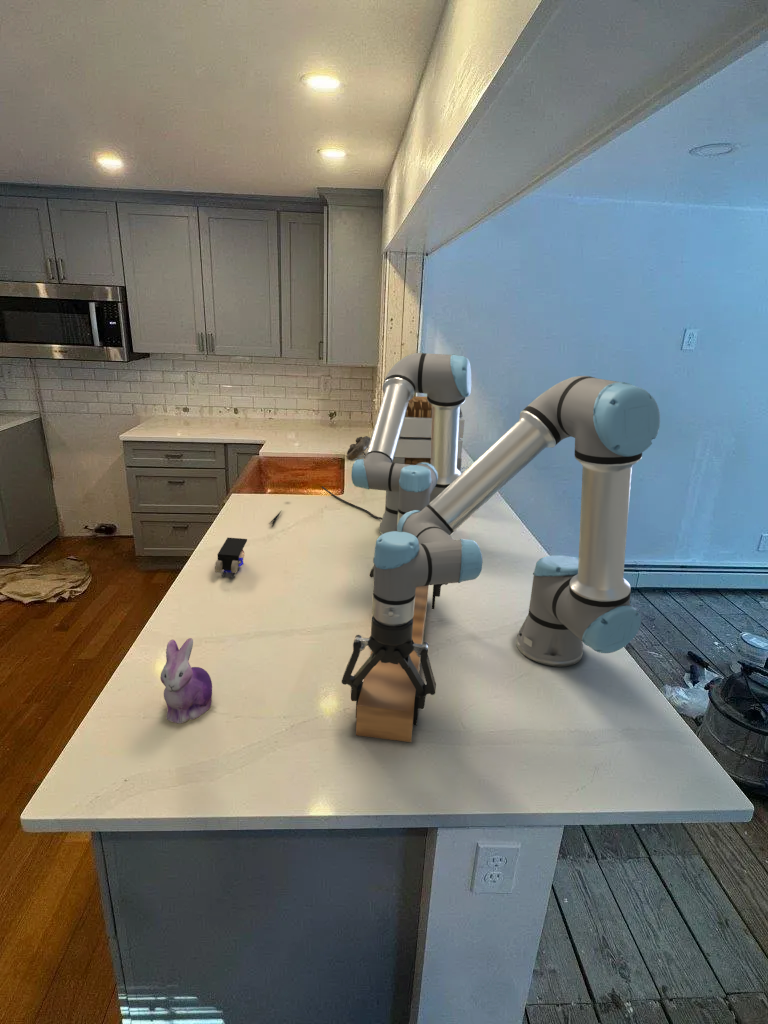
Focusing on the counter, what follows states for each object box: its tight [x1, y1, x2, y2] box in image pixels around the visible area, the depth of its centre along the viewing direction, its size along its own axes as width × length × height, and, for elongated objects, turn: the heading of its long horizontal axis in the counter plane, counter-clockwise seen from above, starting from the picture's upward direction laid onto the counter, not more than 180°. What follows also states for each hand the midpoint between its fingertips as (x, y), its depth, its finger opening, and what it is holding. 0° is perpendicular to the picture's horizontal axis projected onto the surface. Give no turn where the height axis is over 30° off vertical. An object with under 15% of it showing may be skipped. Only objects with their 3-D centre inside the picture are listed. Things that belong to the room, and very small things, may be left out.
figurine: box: [159, 637, 213, 724], centre depth 107 cm, size 9×10×15 cm
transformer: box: [392, 395, 465, 474], centre depth 268 cm, size 34×33×41 cm
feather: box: [268, 510, 282, 527], centre depth 212 cm, size 2×28×2 cm
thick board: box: [355, 585, 430, 743], centre depth 128 cm, size 53×10×7 cm, turn 173°
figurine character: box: [214, 537, 248, 578], centre depth 166 cm, size 7×8×15 cm
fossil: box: [346, 435, 371, 461], centre depth 300 cm, size 22×10×15 cm
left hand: (407, 604), depth 148 cm, fingers open, 13 cm apart
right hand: (386, 717), depth 109 cm, fingers closed on thick board, 10 cm apart
